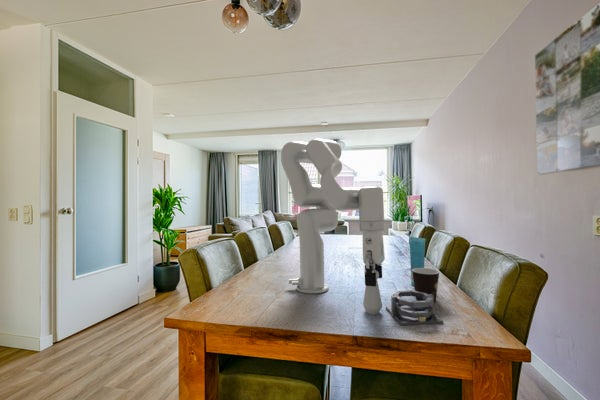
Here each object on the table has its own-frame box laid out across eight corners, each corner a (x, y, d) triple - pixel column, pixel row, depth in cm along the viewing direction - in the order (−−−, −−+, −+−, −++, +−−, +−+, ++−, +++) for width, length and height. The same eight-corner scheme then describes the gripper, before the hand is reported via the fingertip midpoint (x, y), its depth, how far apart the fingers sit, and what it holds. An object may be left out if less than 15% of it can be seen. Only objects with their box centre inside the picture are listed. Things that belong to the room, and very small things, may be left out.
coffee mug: (428, 306, 94) (427, 275, 94) (407, 298, 101) (406, 269, 101) (450, 299, 99) (450, 270, 99) (429, 292, 107) (429, 265, 107)
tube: (429, 285, 115) (428, 237, 115) (423, 288, 112) (422, 239, 112) (412, 281, 121) (411, 236, 121) (405, 283, 118) (405, 237, 118)
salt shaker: (383, 310, 91) (383, 269, 91) (380, 317, 86) (380, 273, 86) (365, 307, 93) (364, 267, 93) (361, 314, 88) (360, 271, 88)
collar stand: (400, 325, 80) (400, 304, 80) (385, 308, 92) (384, 290, 92) (444, 323, 81) (444, 302, 81) (423, 307, 93) (422, 288, 93)
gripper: (378, 229, 80) (381, 290, 79) (388, 224, 95) (390, 275, 95) (352, 228, 83) (354, 288, 83) (366, 224, 99) (368, 274, 98)
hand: (374, 281), depth 89 cm, fingers open, 9 cm apart
